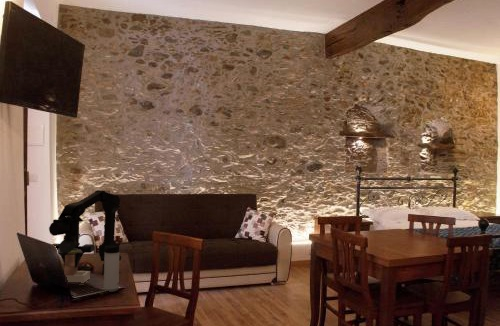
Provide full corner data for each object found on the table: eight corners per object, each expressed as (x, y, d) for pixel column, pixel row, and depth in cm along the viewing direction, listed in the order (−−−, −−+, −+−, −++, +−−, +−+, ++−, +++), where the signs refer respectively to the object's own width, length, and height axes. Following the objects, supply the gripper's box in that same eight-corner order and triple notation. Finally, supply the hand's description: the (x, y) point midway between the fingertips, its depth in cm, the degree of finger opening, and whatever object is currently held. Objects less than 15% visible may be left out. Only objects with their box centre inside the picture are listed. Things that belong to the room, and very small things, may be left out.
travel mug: (121, 289, 184) (123, 244, 184) (107, 292, 179) (109, 246, 179) (114, 286, 188) (115, 242, 188) (100, 289, 183) (102, 244, 183)
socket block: (89, 279, 198) (90, 271, 198) (83, 284, 190) (83, 275, 190) (73, 279, 198) (73, 270, 198) (65, 284, 190) (66, 275, 190)
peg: (77, 273, 188) (77, 253, 188) (73, 275, 184) (74, 255, 184) (68, 272, 188) (68, 253, 188) (64, 275, 184) (65, 254, 184)
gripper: (42, 235, 178) (41, 271, 178) (86, 236, 178) (85, 272, 178) (54, 230, 189) (53, 265, 189) (95, 231, 189) (94, 266, 189)
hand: (71, 267), depth 186 cm, fingers closed on peg, 4 cm apart
